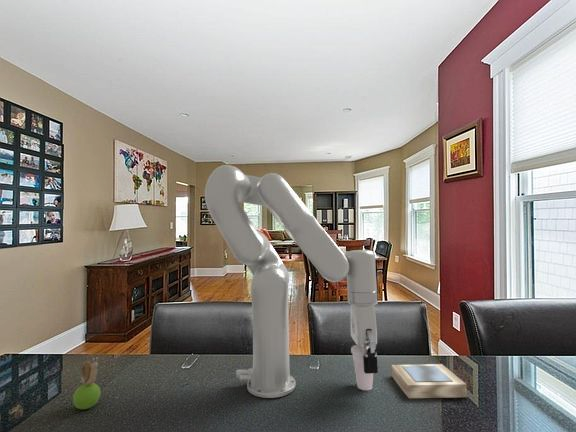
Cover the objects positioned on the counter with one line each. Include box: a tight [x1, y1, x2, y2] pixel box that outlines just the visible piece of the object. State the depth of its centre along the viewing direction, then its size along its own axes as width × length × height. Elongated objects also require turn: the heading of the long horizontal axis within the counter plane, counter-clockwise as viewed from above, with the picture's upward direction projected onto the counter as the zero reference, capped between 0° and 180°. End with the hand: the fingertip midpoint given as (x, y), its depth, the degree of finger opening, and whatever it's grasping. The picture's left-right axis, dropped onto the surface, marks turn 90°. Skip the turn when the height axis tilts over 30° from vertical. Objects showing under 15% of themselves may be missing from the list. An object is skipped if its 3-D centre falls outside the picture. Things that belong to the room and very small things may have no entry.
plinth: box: [391, 363, 468, 399], centre depth 81 cm, size 14×12×3 cm
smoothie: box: [350, 342, 374, 391], centre depth 81 cm, size 6×6×14 cm
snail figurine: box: [72, 356, 101, 410], centre depth 73 cm, size 5×6×12 cm
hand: (365, 364), depth 81 cm, fingers open, 9 cm apart
